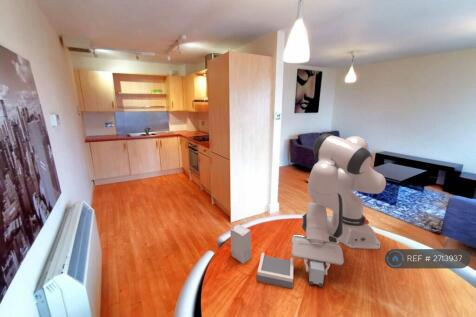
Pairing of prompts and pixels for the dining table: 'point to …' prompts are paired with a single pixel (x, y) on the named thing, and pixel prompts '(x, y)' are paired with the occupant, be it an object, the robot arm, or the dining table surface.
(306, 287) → the dining table surface
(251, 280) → the dining table surface
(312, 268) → the white footed cube
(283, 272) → the dock
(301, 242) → the robot arm
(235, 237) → the skincare box
